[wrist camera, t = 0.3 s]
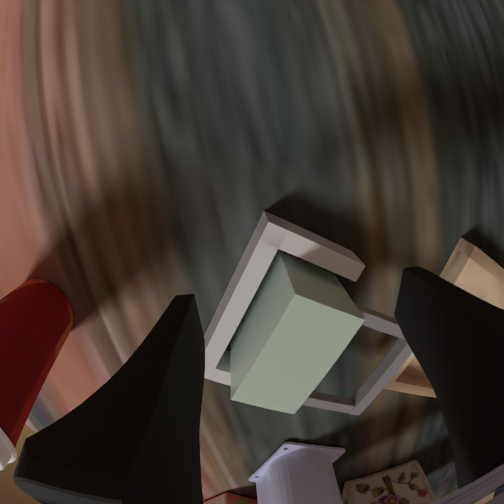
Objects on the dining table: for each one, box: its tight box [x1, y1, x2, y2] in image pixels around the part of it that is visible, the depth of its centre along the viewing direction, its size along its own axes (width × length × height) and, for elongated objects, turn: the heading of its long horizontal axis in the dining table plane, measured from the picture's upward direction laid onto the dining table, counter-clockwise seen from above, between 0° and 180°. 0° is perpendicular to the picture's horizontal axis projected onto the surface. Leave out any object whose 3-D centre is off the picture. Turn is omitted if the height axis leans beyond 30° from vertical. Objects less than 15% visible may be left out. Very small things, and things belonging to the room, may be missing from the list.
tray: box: [373, 238, 504, 398], centre depth 24 cm, size 14×16×2 cm
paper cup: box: [0, 278, 73, 471], centre depth 15 cm, size 8×8×14 cm
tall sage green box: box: [230, 250, 412, 416], centre depth 20 cm, size 10×8×6 cm
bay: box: [204, 211, 365, 386], centre depth 21 cm, size 7×12×2 cm, turn 155°
